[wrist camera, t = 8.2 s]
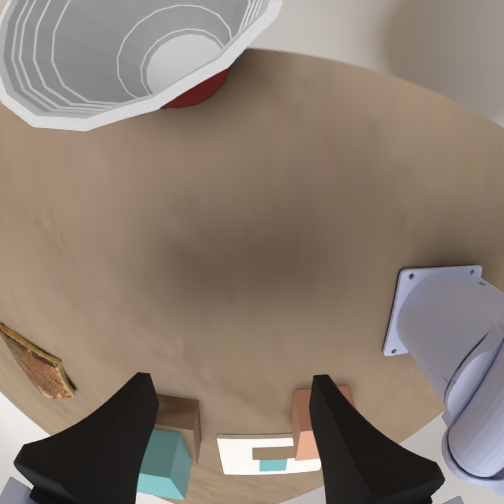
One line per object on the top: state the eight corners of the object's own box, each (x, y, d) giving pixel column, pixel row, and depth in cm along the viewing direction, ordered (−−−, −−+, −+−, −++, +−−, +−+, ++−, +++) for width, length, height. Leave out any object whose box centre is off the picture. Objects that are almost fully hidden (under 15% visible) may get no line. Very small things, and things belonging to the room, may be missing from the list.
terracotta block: (347, 384, 23) (361, 423, 18) (338, 417, 25) (348, 454, 20) (294, 389, 23) (300, 431, 19) (290, 421, 25) (295, 460, 20)
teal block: (180, 432, 20) (169, 478, 16) (192, 459, 22) (185, 499, 17) (128, 425, 20) (112, 467, 16) (145, 453, 22) (134, 490, 17)
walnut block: (199, 398, 24) (192, 430, 20) (201, 437, 26) (197, 466, 22) (129, 386, 24) (116, 414, 20) (141, 427, 26) (132, 453, 22)
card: (330, 429, 25) (332, 434, 25) (318, 466, 28) (319, 470, 27) (217, 434, 25) (216, 439, 25) (224, 470, 28) (224, 474, 27)
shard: (1, 318, 22) (-8, 325, 21) (30, 303, 22) (20, 311, 20) (49, 391, 25) (43, 400, 24) (85, 387, 25) (79, 397, 23)
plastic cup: (225, 173, 18) (176, 192, 6) (91, 118, 16) (-41, 101, 5) (298, 37, 15) (347, -80, 3) (161, -6, 13) (97, -101, 2)
